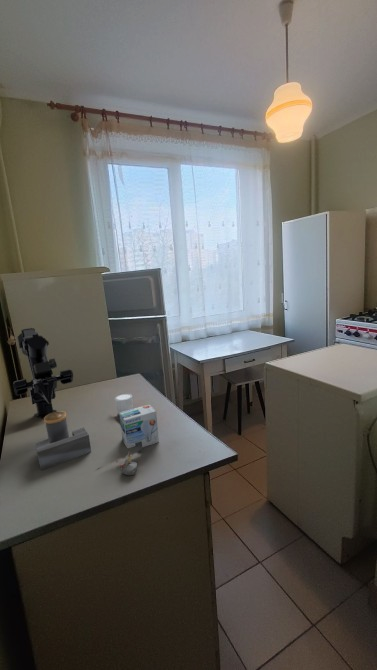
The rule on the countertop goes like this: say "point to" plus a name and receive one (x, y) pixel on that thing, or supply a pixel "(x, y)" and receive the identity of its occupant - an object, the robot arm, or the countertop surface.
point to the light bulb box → (139, 426)
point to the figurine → (128, 466)
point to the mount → (63, 449)
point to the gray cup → (56, 426)
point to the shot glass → (124, 402)
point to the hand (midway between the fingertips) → (50, 403)
